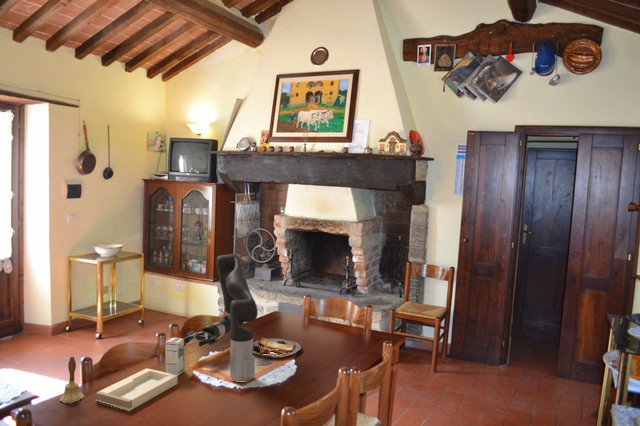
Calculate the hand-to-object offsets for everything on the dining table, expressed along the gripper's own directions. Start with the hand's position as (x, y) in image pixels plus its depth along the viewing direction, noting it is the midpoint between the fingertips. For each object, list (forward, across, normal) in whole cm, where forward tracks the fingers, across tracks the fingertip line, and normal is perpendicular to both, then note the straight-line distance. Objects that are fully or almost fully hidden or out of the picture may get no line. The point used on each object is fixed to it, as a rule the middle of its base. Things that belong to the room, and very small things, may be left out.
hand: (191, 342), depth 223 cm
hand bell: (+47, -18, +10) cm, 51 cm away
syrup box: (+11, 0, +10) cm, 15 cm away
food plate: (-32, +24, +10) cm, 41 cm away
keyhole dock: (+32, 0, +9) cm, 34 cm away
